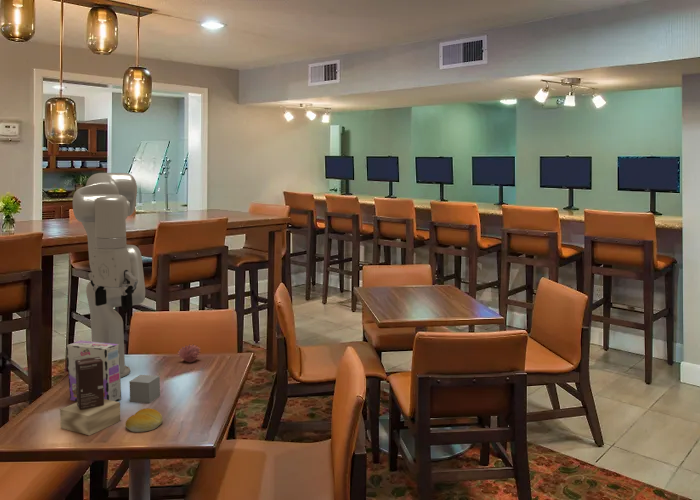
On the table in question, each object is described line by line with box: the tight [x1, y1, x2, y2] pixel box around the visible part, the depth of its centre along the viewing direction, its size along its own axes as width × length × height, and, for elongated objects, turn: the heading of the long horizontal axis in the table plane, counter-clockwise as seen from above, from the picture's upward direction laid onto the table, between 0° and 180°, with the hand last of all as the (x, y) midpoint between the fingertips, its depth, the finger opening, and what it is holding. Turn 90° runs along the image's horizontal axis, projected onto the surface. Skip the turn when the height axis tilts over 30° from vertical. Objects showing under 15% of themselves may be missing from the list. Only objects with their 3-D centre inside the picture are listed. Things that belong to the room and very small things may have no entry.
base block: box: [59, 399, 122, 436], centre depth 155 cm, size 10×10×5 cm
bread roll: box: [125, 407, 163, 433], centre depth 155 cm, size 8×9×4 cm
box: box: [75, 357, 104, 410], centre depth 154 cm, size 6×4×12 cm
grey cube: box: [128, 374, 161, 404], centre depth 173 cm, size 6×6×6 cm
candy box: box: [66, 339, 122, 402], centre depth 172 cm, size 14×6×16 cm, turn 71°
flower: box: [177, 344, 202, 363], centre depth 208 cm, size 8×8×6 cm
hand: (113, 307), depth 161 cm, fingers open, 9 cm apart
